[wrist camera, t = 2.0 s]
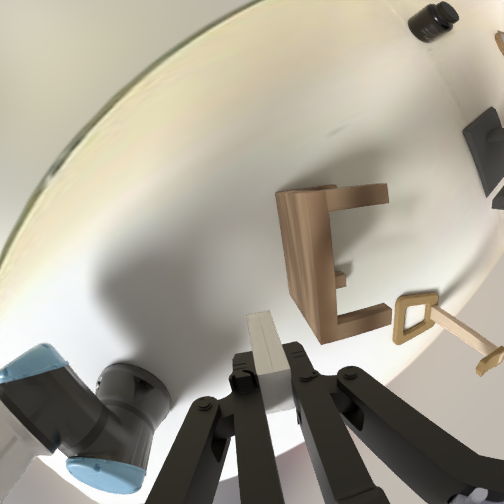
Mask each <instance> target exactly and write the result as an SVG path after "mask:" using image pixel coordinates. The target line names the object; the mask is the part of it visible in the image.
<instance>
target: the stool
mask: <svg viewBox="0 0 504 504" xmlns="http://www.w3.org/2000/svg"><path fill="white" fill-rule="evenodd" d="M275 196H276V202H277V208H278V215H279V221H280V228H281V235H282V242H283V249H284V256H285V263H286V270H287V277H288V285H289V292H290V295H291V297H292V298H293V300H294V302H295V303H296V305H297V307H298V308H299V310H300V311H301V313H302V315H303V316H304V318H305V320H306V321H307V323H308V324H309V326H310V328H311V329H312V331H313V333H314V334H315V336H316V338H317V339H318V341H319V342H320V344H321V345H323V344H327V343H331V342H334V341H338V340H341V339H345V338H349V337H352V336H355V335H359V334H362V333H365V332H368V331H372V330H375V329H378V328H381V327H384V326H387V325H390V324H391V321H392V309H391V308H390V307H389V306H387V305H386V304H385V303H381V304H378V305H375V306H371V307H368V308H364V309H361V310H357V311H353V312H350V313H346V314H342V315H338V316H337V302H336V289H337V288H342V287H346V275H345V274H344V273H343V272H341V271H339V272H334V260H333V250H332V240H331V230H330V222H329V213H328V212H330V211H336V210H343V209H350V208H356V207H363V206H370V205H377V204H384V203H389V197H388V188H387V184H369V185H360V186H351V187H343V188H337V186H336V185H327V186H319V187H311V188H304V189H297V190H290V191H283V192H277V193H275Z"/></svg>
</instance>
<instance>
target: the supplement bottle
mask: <svg viewBox="0 0 504 504" xmlns="http://www.w3.org/2000/svg"><path fill="white" fill-rule="evenodd" d="M458 20H459V16H458V14H457V12H456V11H455V9H454V8H453V7H452V6H451V5H449V4H448V3H446V2H444V1H443V2H440V3H438V4H437V5H435V4H429V5H427V6H426V7H424V8H423V9H422V10H420V11H419V12H418V13H416V14H415V15H414V16H412V17H411V18H410V19H409V20H408V26H409V29H410V31H411V32H412V33H413V35H414V36H415V37H417V38H418V39H419V40H421V41H423V42H427V43H428V42H431V41H433V40H435V39H437V38H438V37H440V36H442V35H444V34H446V33H447V32H449V31H451V30H452V28H453V24H454V23H456V22H457V21H458Z"/></svg>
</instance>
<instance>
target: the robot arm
mask: <svg viewBox="0 0 504 504" xmlns="http://www.w3.org/2000/svg"><path fill="white" fill-rule="evenodd" d="M246 316H247V322H248V328H249V334H250V339H251V345H252V351H250V352H244V353H238V354H235V356H234V358H233V359H232V362H233V373H232V374H231V375H230V376H229V382H230V386H231V389H232V392H231V394H230V395H228V396H227V397H225V398H222V399H220V400H217V399H216V398H214V397H210V396H206V397H201V398H198V399H197V400H195V401H194V402H193V403H192V405H191V407H190V409H189V411H188V413H187V415H186V417H185V420H184V422H183V424H182V426H181V428H180V430H179V432H178V435H177V437H176V439H175V441H174V443H173V445H172V447H171V449H170V452H169V454H168V456H167V458H166V460H165V462H164V464H163V466H162V468H161V471H160V473H159V475H158V477H157V479H156V481H155V483H154V485H153V487H152V489H151V492H150V494H149V496H148V498H147V500H146V502H145V504H212V503H213V499H214V496H215V492H216V489H217V486H218V483H219V479H220V476H221V472H222V469H223V465H224V462H225V458H226V455H227V451H228V448H229V444H230V440H231V437H232V436H234V435H235V440H236V453H237V465H238V477H239V488H240V499H241V504H285V502H284V497H283V492H282V488H281V483H280V479H279V475H278V469H277V465H276V460H275V455H274V450H273V446H272V441H271V436H270V431H269V426H268V421H267V417H266V414H270V413H275V412H280V411H285V410H289V409H294V408H295V407H296V412H297V421H298V424H300V427H301V430H302V433H303V436H304V439H305V442H306V446H307V449H308V451H309V455H310V458H311V461H312V464H313V467H314V471H315V473H316V477H317V480H318V483H319V486H320V489H321V492H322V495H323V498H324V502H325V504H390V503H389V501H388V499H387V497H386V495H385V493H384V491H383V490H382V489H381V488H380V487H377V486H376V485H375V484H374V483H373V481H372V479H371V477H370V475H369V473H368V471H367V468H366V467H365V465H364V462H363V460H362V458H361V456H360V454H359V452H358V450H357V448H356V446H355V444H354V442H353V440H352V438H351V436H350V434H349V432H348V430H347V428H346V426H345V424H346V425H347V426H348V427H349V428H350V429H351V430H352V431H353V432H354V433H355V434H356V435H357V436H358V437H359V438H360V439H361V440H362V442H364V444H365V445H366V446H367V447H368V448H370V450H371V451H372V452H373V453H374V454H375V455H376V456H378V458H379V459H381V460H382V461H383V462H384V463H385V464H386V465H387V466H388V467H389V468H390V469H391V470H392V471H393V472H394V473H395V474H396V475H397V476H398V477H399V478H400V479H401V480H402V481H404V483H406V484H407V485H408V486H409V487H410V488H411V489H412V490H413V491H414V492H415V493H416V494H418V495H419V496H420V497H421V498H422V499H423V500H424V501H425V502H427V503H428V504H504V460H500V459H494V458H490V457H485V456H481V455H478V454H477V453H475V452H474V451H473V450H471V449H470V448H468V447H467V446H465V445H464V444H463V443H461V442H460V441H458V440H457V439H455V438H454V437H453V436H451V435H450V434H448V433H447V432H446V431H444V430H443V429H441V428H440V427H439V426H437V425H436V424H435V423H433V422H432V421H430V420H429V419H428V418H426V417H425V416H424V415H422V414H421V413H419V412H418V411H417V410H415V409H414V408H413V407H411V406H410V405H409V404H407V403H406V402H405V401H403V400H402V399H401V398H399V397H398V396H397V395H395V394H394V393H393V392H391V391H390V390H389V389H387V388H386V387H385V386H383V385H382V384H381V383H379V382H378V381H377V380H376V379H374V378H373V377H372V376H370V375H369V374H368V373H366V372H365V371H364V370H362V369H361V368H359V367H356V366H347V367H344V368H342V369H340V370H339V371H338V373H337V375H332V376H325V375H321V374H320V373H319V372H318V371H316V370H314V368H313V366H312V364H311V362H310V360H309V358H308V356H307V354H306V352H305V350H304V348H303V346H302V345H301V344H300V343H298V342H297V341H296V342H291V343H287V344H281V342H280V339H279V336H278V333H277V331H276V328H275V325H274V322H273V319H272V317H271V314H270V311H264V312H259V313H253V314H248V315H246ZM169 407H170V396H169V393H168V391H167V389H166V387H165V386H164V385H163V383H162V382H161V381H160V380H159V379H158V378H156V377H155V376H154V375H152V374H151V373H149V372H148V371H146V370H144V369H142V368H139V367H136V366H133V365H128V364H115V365H111V366H109V367H107V368H106V369H105V370H104V371H103V372H102V373H101V375H100V377H99V378H98V381H97V384H96V395H95V394H94V393H93V392H92V391H91V390H90V389H89V388H88V387H87V386H86V385H85V383H84V382H83V381H82V380H81V379H80V378H79V377H78V375H77V374H76V373H75V372H74V371H73V369H72V368H71V367H70V366H69V363H68V362H67V361H65V360H64V359H63V357H62V356H61V355H60V354H59V353H58V352H57V350H56V349H55V348H54V347H53V346H52V345H51V344H48V343H40V344H38V345H37V346H35V347H33V348H32V349H30V350H28V351H27V352H25V353H24V354H22V355H21V356H19V357H18V358H16V359H15V360H13V361H12V362H10V363H9V364H7V365H6V366H4V367H3V368H1V369H0V504H2V502H3V500H4V499H5V498H6V497H7V495H8V494H9V492H10V491H11V490H12V488H13V487H14V485H15V484H16V483H17V481H18V480H19V479H20V477H21V476H22V474H23V473H24V472H25V470H26V469H27V468H28V467H29V465H30V464H31V463H32V461H33V460H34V459H35V457H36V456H38V455H47V456H51V455H52V454H53V453H54V452H55V450H56V449H57V448H58V449H59V450H60V451H61V452H62V453H64V454H65V455H66V456H67V457H68V459H67V460H66V467H67V469H68V471H69V472H70V473H71V474H72V475H73V476H74V477H75V478H77V479H78V480H80V481H81V482H83V483H85V484H87V485H89V486H91V487H94V488H96V489H99V490H102V491H106V492H110V493H115V494H132V493H135V492H137V491H139V490H140V488H141V487H142V483H143V480H144V476H146V470H147V465H148V459H149V454H150V449H151V444H152V440H153V435H154V431H155V430H156V429H157V427H158V426H159V425H160V423H161V422H162V421H163V420H164V419H165V418H166V416H167V414H168V412H169ZM344 423H345V424H344Z"/></svg>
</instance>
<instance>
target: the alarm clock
mask: <svg viewBox="0 0 504 504" xmlns="http://www.w3.org/2000/svg"><path fill="white" fill-rule="evenodd" d="M498 32H499V33H497V34H495V40H496V43H497V45H498V47H499V49H500V50H501V52H502V53H503V55H504V32H500V31H499V30H498Z"/></svg>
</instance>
